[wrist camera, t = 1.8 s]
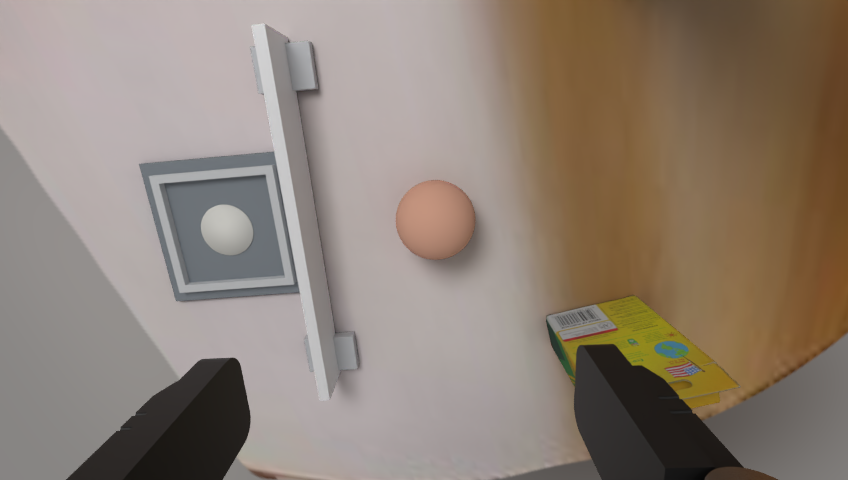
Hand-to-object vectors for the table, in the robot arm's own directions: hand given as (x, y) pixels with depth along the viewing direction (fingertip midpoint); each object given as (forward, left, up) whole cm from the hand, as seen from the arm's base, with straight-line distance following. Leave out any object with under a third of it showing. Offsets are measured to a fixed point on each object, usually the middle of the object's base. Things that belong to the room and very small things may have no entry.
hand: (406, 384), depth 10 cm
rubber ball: (-1, +1, -20) cm, 20 cm away
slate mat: (+15, +1, -22) cm, 27 cm away
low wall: (+9, +1, -22) cm, 24 cm away
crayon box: (-13, +11, -22) cm, 28 cm away
